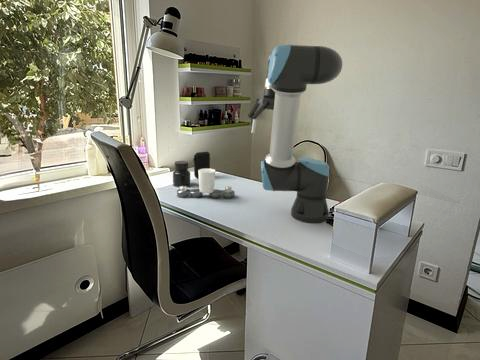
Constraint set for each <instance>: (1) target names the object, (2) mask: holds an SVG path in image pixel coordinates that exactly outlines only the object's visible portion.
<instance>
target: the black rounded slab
mask: <svg viewBox="0 0 480 360" xmlns="http://www.w3.org/2000/svg"><path fill="white" fill-rule="evenodd" d="M192 162H193V167H194V170H193V171H194V172H193V173H194V175H193V176H194V177H195V178H196V179H199V176H198V170H200V169H211V154H210V152H209V151H199V152H196V153H195V154H194V155H193V158H192Z"/></svg>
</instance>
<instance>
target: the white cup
mask: <svg viewBox="0 0 480 360" xmlns="http://www.w3.org/2000/svg"><path fill="white" fill-rule="evenodd" d="M198 176H199V178H198V187H199V188H198V189H199V190H200V192H201V193H203V194H209V193H212V192H214V189H215V183H216V169H214V168H210V169H200V170H198Z"/></svg>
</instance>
